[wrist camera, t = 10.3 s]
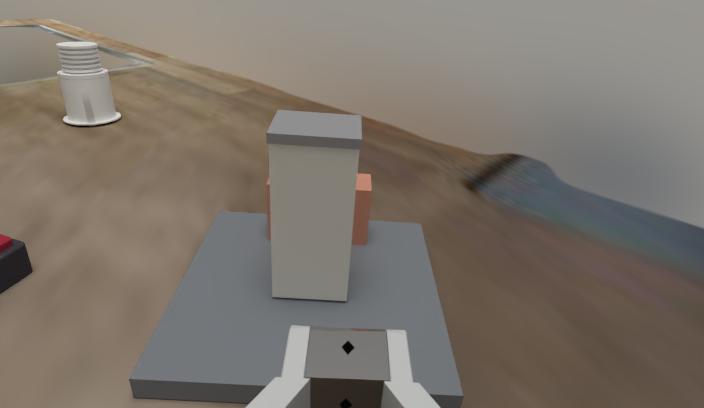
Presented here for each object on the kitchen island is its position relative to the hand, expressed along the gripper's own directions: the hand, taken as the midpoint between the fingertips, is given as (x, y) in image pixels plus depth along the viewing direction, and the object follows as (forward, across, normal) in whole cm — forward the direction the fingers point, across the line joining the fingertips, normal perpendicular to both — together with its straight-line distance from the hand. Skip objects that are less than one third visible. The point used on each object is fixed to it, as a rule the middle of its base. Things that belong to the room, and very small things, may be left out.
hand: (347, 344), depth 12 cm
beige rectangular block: (+16, +2, +12) cm, 20 cm away
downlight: (+51, +36, +14) cm, 64 cm away
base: (+16, +2, +13) cm, 21 cm away
